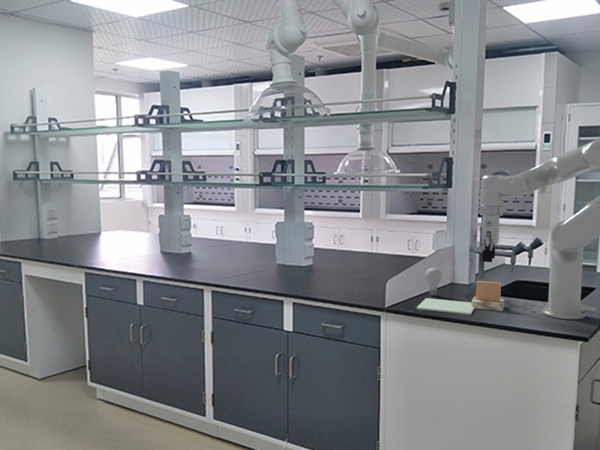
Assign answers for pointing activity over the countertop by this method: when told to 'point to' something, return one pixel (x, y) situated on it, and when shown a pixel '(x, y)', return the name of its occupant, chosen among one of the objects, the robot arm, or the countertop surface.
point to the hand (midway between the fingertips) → (488, 259)
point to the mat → (446, 306)
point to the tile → (488, 291)
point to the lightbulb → (433, 279)
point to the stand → (488, 304)
